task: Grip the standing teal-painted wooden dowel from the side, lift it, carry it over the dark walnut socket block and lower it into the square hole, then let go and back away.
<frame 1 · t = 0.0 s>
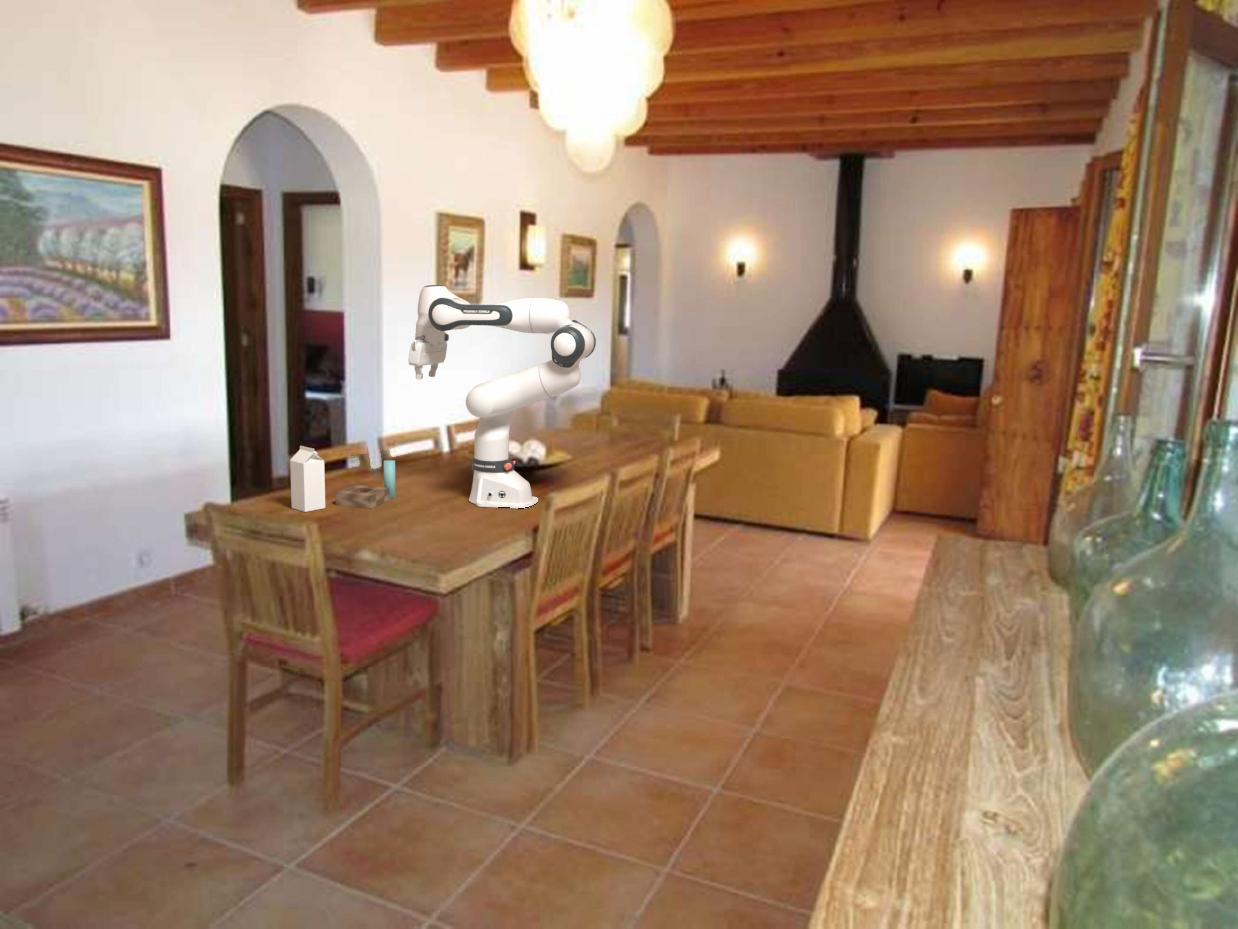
hand: (425, 377, 283), 39 cm above the table, tool pointing down, fingers open, 8 cm apart
milk carton: (308, 509, 266), on the table
peg: (389, 497, 285), on the table
socket block: (363, 502, 276), on the table
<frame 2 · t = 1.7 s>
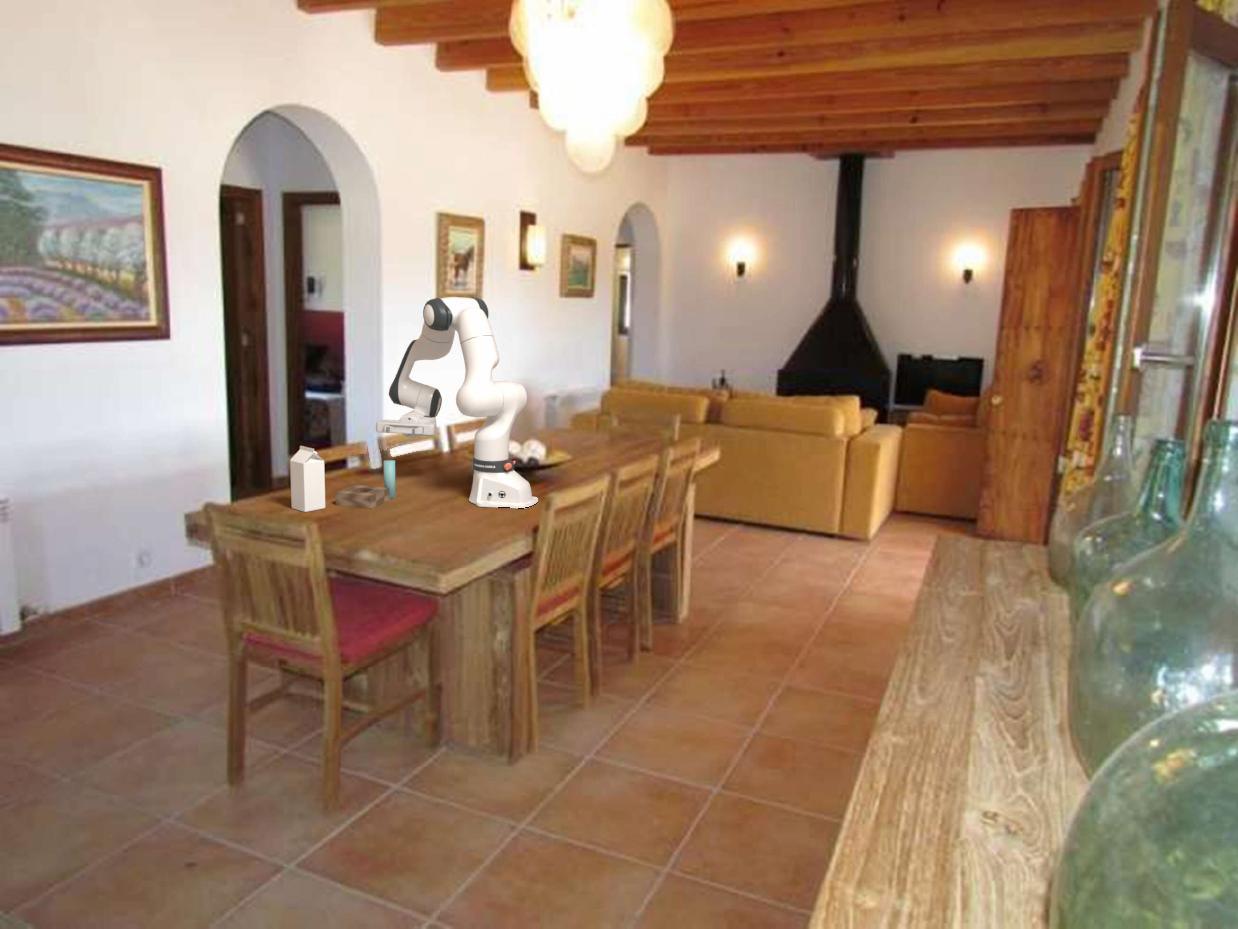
hand: (400, 431, 293), 20 cm above the table, tool horizontal, fingers open, 8 cm apart
nothing on the table moved.
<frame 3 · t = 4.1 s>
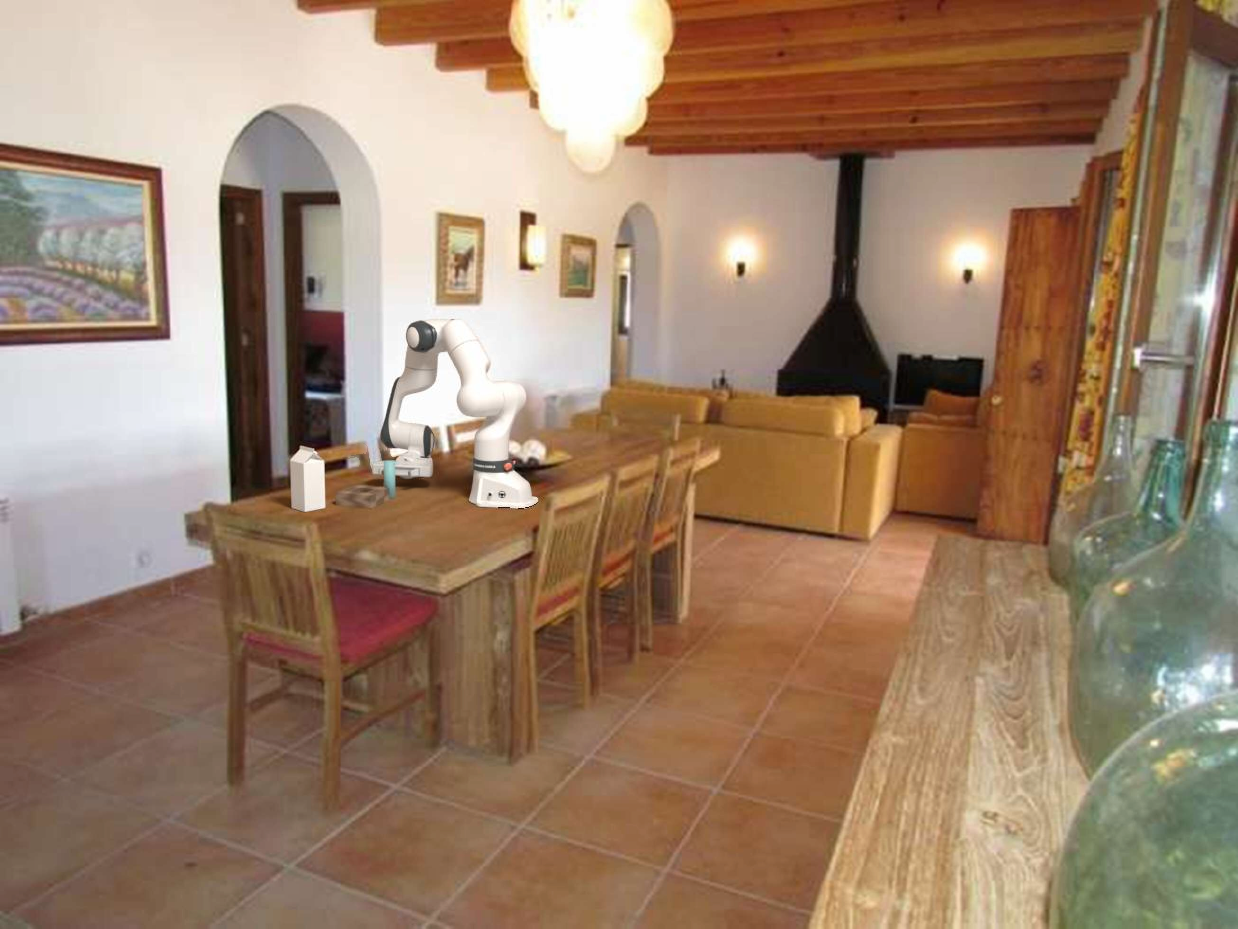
hand: (395, 473, 290), 7 cm above the table, tool horizontal, fingers open, 8 cm apart
nothing on the table moved.
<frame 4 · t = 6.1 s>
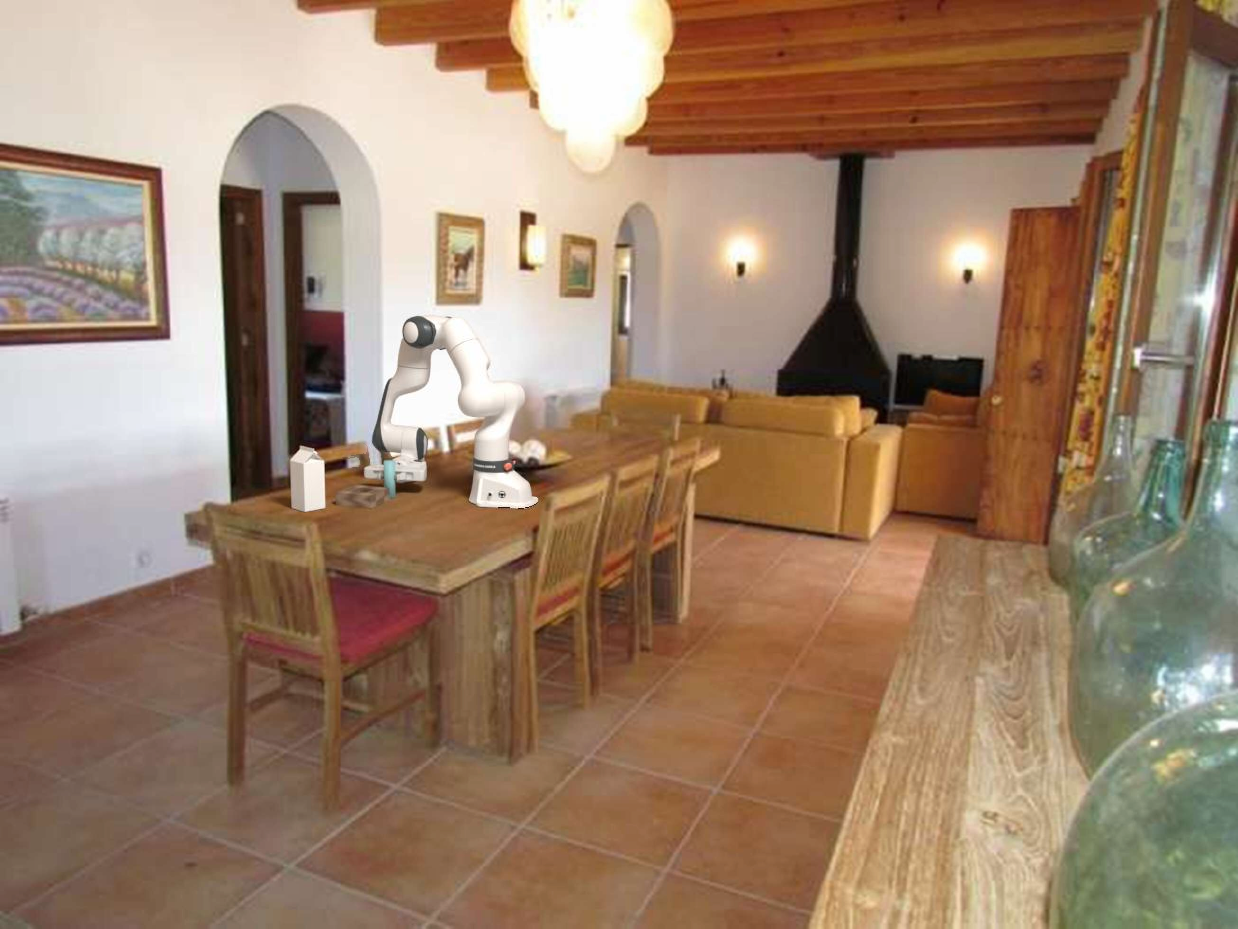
hand: (388, 477, 283), 7 cm above the table, tool horizontal, fingers closed on peg, 4 cm apart
peg: (389, 496, 285), on the table, touching gripper
everything else where it was.
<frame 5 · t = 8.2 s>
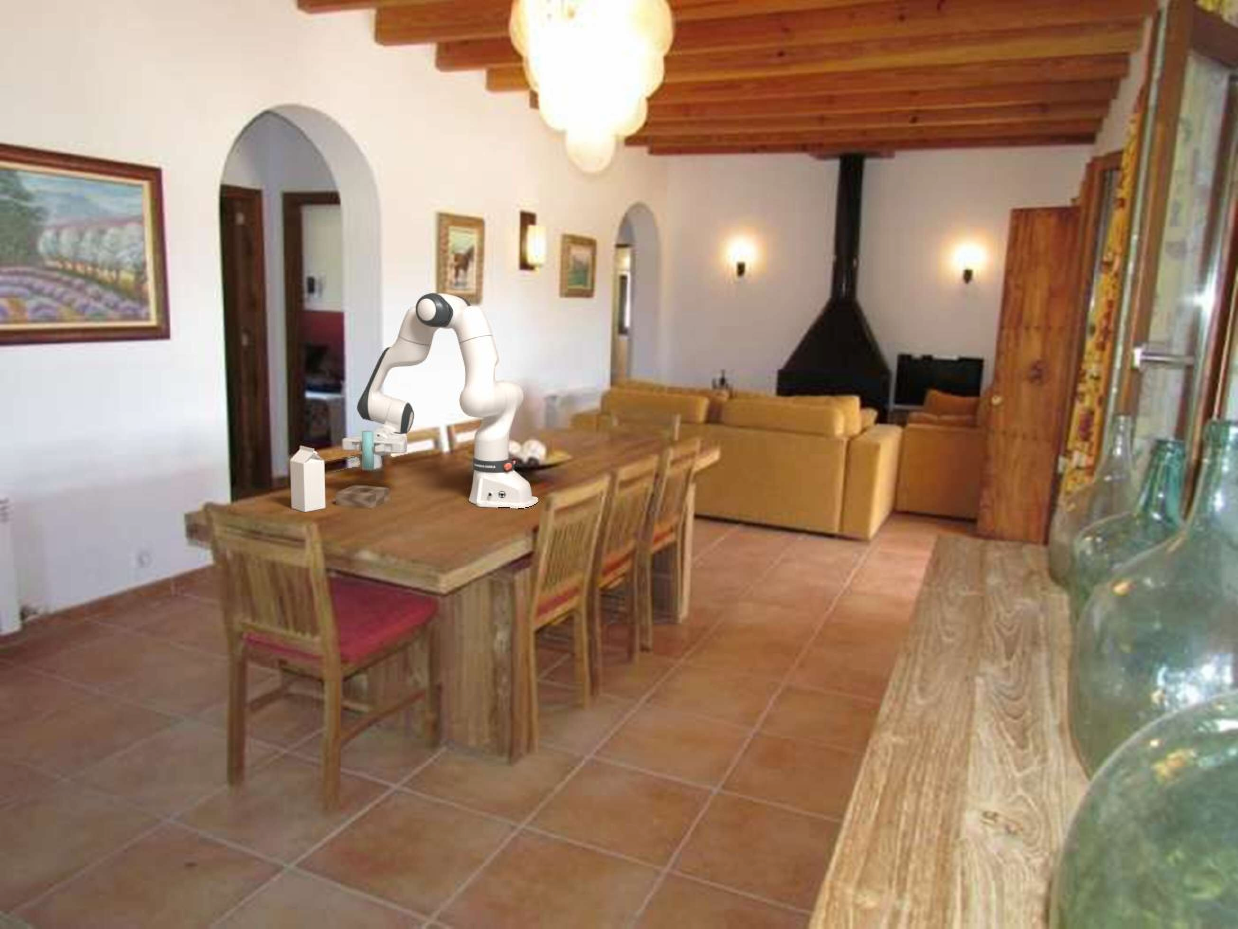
hand: (366, 449, 274), 17 cm above the table, tool horizontal, fingers closed on peg, 4 cm apart
peg: (368, 469, 277), point 10 cm above the table, touching gripper
everything else where it was.
when the fingers open (9 cm above the table, at t = 10.3 s): peg drops 2 cm, resting in socket block.
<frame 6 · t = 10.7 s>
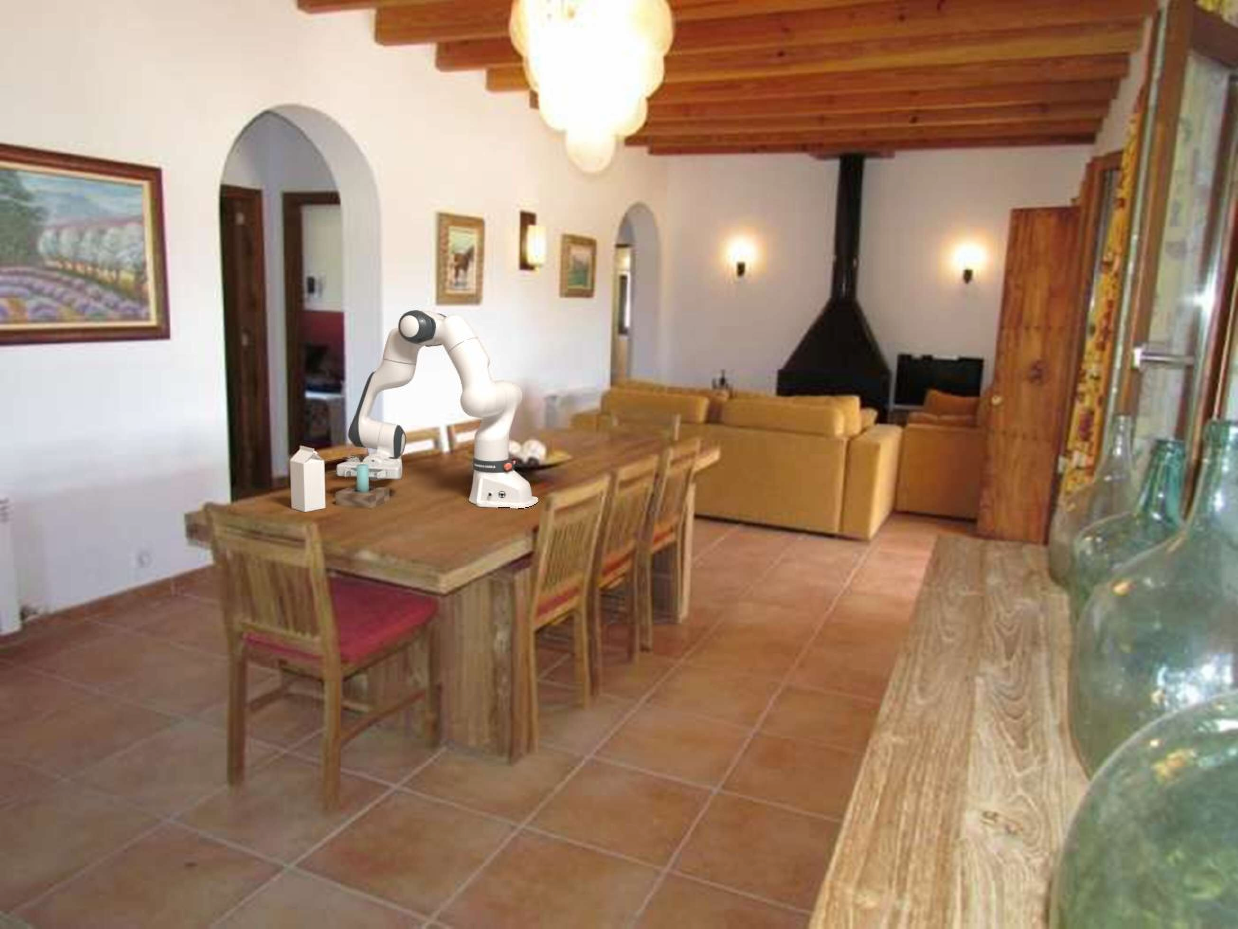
hand: (361, 475, 274), 9 cm above the table, tool horizontal, fingers open, 8 cm apart
peg: (363, 502, 276), resting in socket block
everything else where it was.
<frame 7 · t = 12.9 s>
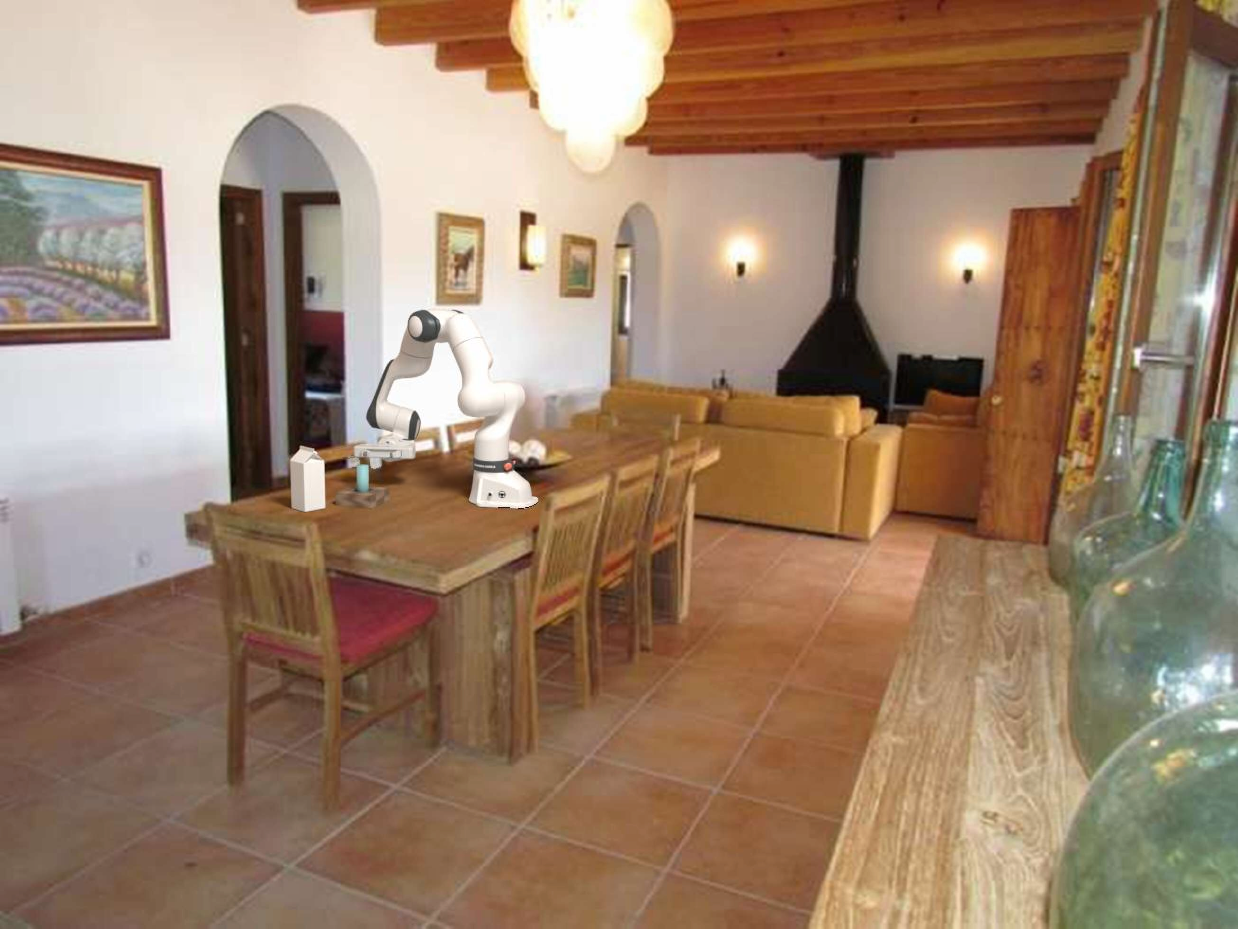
hand: (377, 455, 287), 13 cm above the table, tool horizontal, fingers open, 8 cm apart
nothing on the table moved.
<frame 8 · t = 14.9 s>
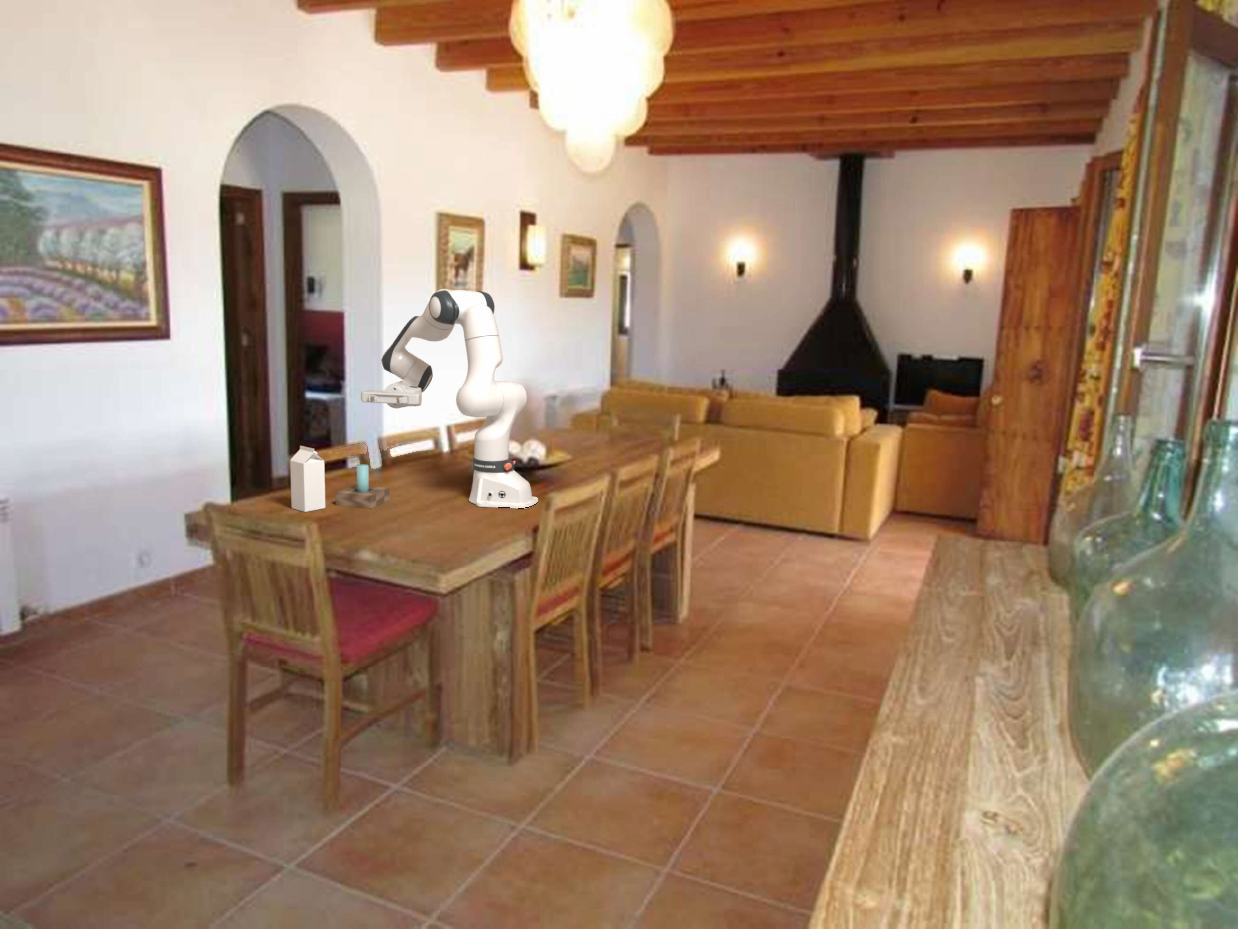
hand: (384, 400, 293), 30 cm above the table, tool horizontal, fingers open, 8 cm apart
nothing on the table moved.
at the end: peg 0.0 cm off-centre on the socket block, point 0.0 cm above the socket block's base; peg tilted 0°; the gripper is holding nothing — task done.
